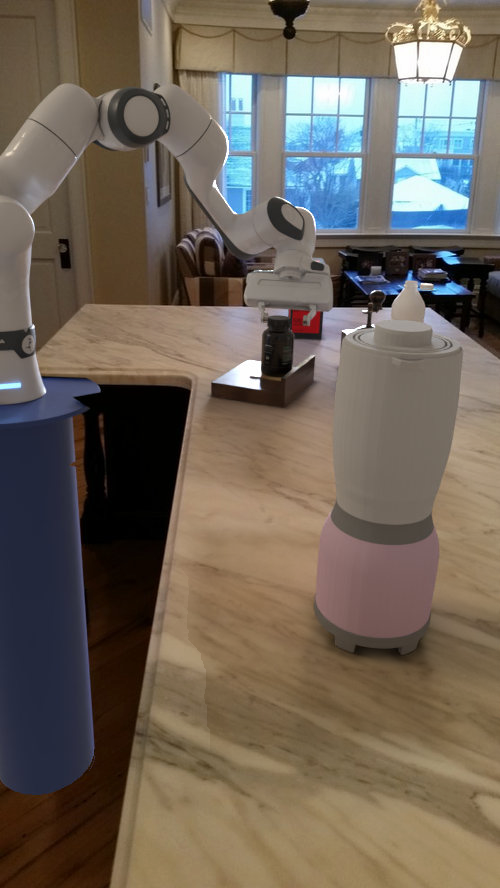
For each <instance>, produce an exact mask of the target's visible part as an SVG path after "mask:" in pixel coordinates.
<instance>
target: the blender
mask: <svg viewBox="0 0 500 888" xmlns="http://www.w3.org/2000/svg"><path fill="white" fill-rule="evenodd" d="M374 326H375V327H374V328H369V329H361V330H356V331H352V332H350V333H348V334H347V335H346V336H345V337H344V339H343V341H342V346H341V345H340V348H341V354H340V353H339V361H338V362H339V363H338V369H337V376H336V383H335V390H334V391H335V393H334V406H333V417H332V418H333V419H332V431H331V432H332V436H331V437H332V440H331V442H332V444H331V445H332V464H333V473H334V483H335V502H334V504H333V507H332V509H331V511H330V512H329V514H328V515H327V517H326V518H325V520H324V523H323V525H322V528H321V532H320V535H319V543H318V554H317V567H316V581H315V583H316V584H315V586H316V587H315V593H314V598H313V600H314V601H313V612H314V613H313V614H314V616H315V618H316V620H317V621H318V623H319V624H320V625H321V626H322V627H323V628H324V629H325V630H326V631H327V632H328V633H330V634H331V635H333V636H334V645H335V646H336V647H338V648H339V649H341V650H344V651H346V652H348V653H351V654H353V653H355V651H356V649H357V648H356V647H357V646H360V647H365V648H369V649H370V648H371V649H396V648H397V652H398V653H399V654H400V655H402V656H403V655H407V654H410V653H412V652H414V651H415V650H417V647H418V644H419V641H420V640H421V639H422V638H423V637H424V636H425V635H426V634H427V632H428V631H429V628H430V624H431V618H432V604H433V599H434V593H435V588H436V581H437V575H438V568H439V561H440V539H439V536H438V531H437V529H436V526H435V523H434V519H433V508H434V505H435V500H436V497H437V495H438V493H439V490H440V486H441V483H442V480H443V477H444V473H445V470H446V467H447V464H448V461H449V457H450V453H451V449H452V445H453V440H454V434H455V433H454V432H455V426H456V420H457V414H458V408H459V400H460V391H461V377H462V366H463V357H464V348H463V347H462V346H461V344H460V343H459V341H457V340H456V339H454V338H452V337H449V336H447V335H443V334H440V333H435V332H434V331H433V327H432V326H431V325H430V324H427V323H421V322H416V321H408V320H390V319H384V320H383V319H382V320H378V321H377V322H376V323H375V324H374Z"/></svg>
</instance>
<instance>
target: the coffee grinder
mask: <svg viewBox="0 0 500 888" xmlns="http://www.w3.org/2000/svg"><path fill="white" fill-rule="evenodd" d="M386 297H387V295H386V293H385V292H383V290H378V289H377V290H373V291H371V292H370V293H369V295H368V298H369V300H370V301H371V302H368V303H367V309H366V310H362V314H363V315H367V319H366V323H365V325H362V326H359V327H356V328H355V329H344V330H343V329H342V330H341V334H340V348H339V349H340V350H339V351H340V352H339V355H340V354H341V346H342V341H343V339H344V337H345V336H346V335H347V334H348V333H350V332H352V331H356V330H361V329H369V328H374V327H375V324H372V316H373V313H376V314H377V313H378V312H380V311H383V310H384V308H383V305H382V304H383V303H384V302H385V300H386Z"/></svg>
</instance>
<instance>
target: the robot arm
mask: <svg viewBox="0 0 500 888" xmlns="http://www.w3.org/2000/svg"><path fill="white" fill-rule="evenodd" d="M156 141H157V142H159V143H160V144H161V145H163V146H164V147H165V148H166V149H167V150H168V151H169V152H170V154H171V155H172V156H173V157H174V158H175V159H176V160H177V162H178V163H179V164H180V166H181V168H182V170H183V172H184V173H183V182H184V185H185V187H186V189H187V191H188V193H190V196H191V197H192V198H193V200H194V201H195V203H196V204H197V205H198V207H199V208H200V210H201V211H202V212H203V213H204V215H205V216H206V218H207V219H208V220H209V221H210V223H211V224H212V226H213V227H214V229H215V230H216V231H217V232H218V234H219V236H220V237H221V239H222V241H223V243H224V245H225V247H226V249H227V250H228V252H229V253H230V254H231V255H232V256H234V257H235V258H237V259H240V260H242V261H251V260H252V259H254V258H255V257H257V256H259V255H260V254H261V253H263V252H265V251H267V250H269V249H271V248H273V249H275V250H276V255H275V258H274V264H273V270H270V269H269V270H265V269H264V270H261V269H254V270H253V271H250V272H248V273H247V275H246V279H245V283H246V286H245V289H244V292H243V293H244V294H243V301H244V303H245V305H246V306H247V307H248V308H257V309H258V312H259V315H260V323H262V324H267V321H268V317H269V313H268V312H265V311H266V309H277V310H289V309H291V310H307V311H310V312H309V314H308V315H304V316H303V326H310V320H311V319H312V318H313V317H314V316H315V315H316V311H323V313H328V312H330V311H332V310H333V309H334V307H333V306H334V287H333V285H334V284H333V281H332V278H331V267H330V266H329V264H326V263H325V264H324V263H321V262H318V261H315V260H313V259H312V258H313V254H314V253H315V250H316V244H317V243H316V242H317V225H316V219H315V217H314V215H313V214H312V213H311V212H310V211H309V210H308V209H306V208H304V207H301V206H294V205H293V204H292V203H291V202H289V201H288V200H286V199H284V198H282V197H278V196H273V197H271V198H268V199H267V200H265V201H262V202H261V203H259V204H257V205H255V207H253V208H251V209H250V210H247V211H246V212H244V213H238V212H237V213H236V212H235V211H233V209H232V207H231V206H230V205H229V203H228V202H227V201H226V199H225V198H224V196H223V195H222V194H221V192H220V190H219V189H218V187H217V184H216V180H217V178H218V176H219V175H220V174H221V172H222V170H223V168H224V166H225V164H226V161H227V159H228V155H229V140H228V136H227V134H226V132H225V131H224V129H223V128H222V127H221V125H220V124H219V122H217V120H215V119H214V117H213V116H212V115H211V113H209V111H208V110H207V109H206V108H205V107H204V106H202V104H201V103H199V101H197V99H195V97H193V96H192V95H190V94H189V93H188V92H187V91H186V90H184V89H183V88H182V87H181V86H179V85H177V84H174V83H165V84H163V85H161V86H159V87H157V88H156V89H155V90H154V91H151V90H148V89H145V88H142V87H140V86H139V87H138V86H126V87H122V88H115V89H112V90H110V91H107V92H105V93H102V94H100V95H98V96H95V97H94V96H93V95H91V94H90V93H89V92H88V91H87V90H86V89H84V88H82V87H81V86H79V85H76V84H74V83H69V82H68V83H67V82H66V83H61V84H59V85H58V86H56V87H55V88H54V89H52V91H51V92H50V93H49V94H47V96H46V97H45V98H43V100H41V101H40V103H39V104H38V105H37V106H36V107H35V108H34V110H33V111H32V112H31V113H30V115H29V116H28V117H27V119H26V120H25V122H24V123H23V125H22V126H21V127H20V128H19V130H18V131H17V133H16V134H15V136H14V137H13V138H12V140H11V141H10V142H9V144H8V145H7V146H6V148H5V149H4V151H3V152H1V154H0V405H5V404H16V403H23V402H28V401H32V400H35V399H37V398H40V397H42V396H43V395H44V394H45V393H46V389H45V387H44V384H43V381H42V378H41V376H42V375H41V370H39V369H40V368H39V364H38V359H37V353H36V344H37V339H36V338H37V336H36V328H35V325H34V324H33V320H32V307H31V297H30V296H31V294H30V274H31V263H32V249H33V247H32V246H33V241H34V239H35V231H36V229H35V224H34V220H33V218H32V217H31V215H32V214H33V213H34V212H36V210H37V209H38V208H39V207H40V206H41V205H42V204H43V203H44V202H46V200H47V199H49V198H50V197H52V196H53V195H54V194H55V193H56V191H57V190H58V189H59V187H60V186H61V184H62V183H63V182H64V180H65V179H66V177H67V176H68V174H69V173H70V172H71V170H72V169H73V168H74V166H75V165H76V163H77V161H78V160H79V159H80V157H81V156H82V154H83V153H84V151H85V150H86V148H87V147H88V146H90V145H91V144H92V143H93V144H94V145H97V146H98V147H100V148H102V149H105V150H107V151H110V152H119V151H120V152H131V151H135V150H138V149H144V148H146V147H148V146H150V145H152V144H154V143H155V142H156Z"/></svg>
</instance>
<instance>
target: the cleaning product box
mask: <svg viewBox="0 0 500 888" xmlns="http://www.w3.org/2000/svg"><path fill="white" fill-rule="evenodd" d="M312 259H313V260H315V261H318V262H321V263H324V264H326V262H325V260H324V259H323V257H312ZM287 310H288V311H287V312H288V313H287V317H290V318H291V322H290V324H291V327H290V328H289V329H290V330H291V331H292V332H293V333H294V340H295V339H296V340H322V336H323V322H324V312H323V311H316V315H315V316H314V317H313V318H312V319H311V320H310V326H303V316H304V315H308V314H309V312H310V311H307V310H291V309H287Z"/></svg>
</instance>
